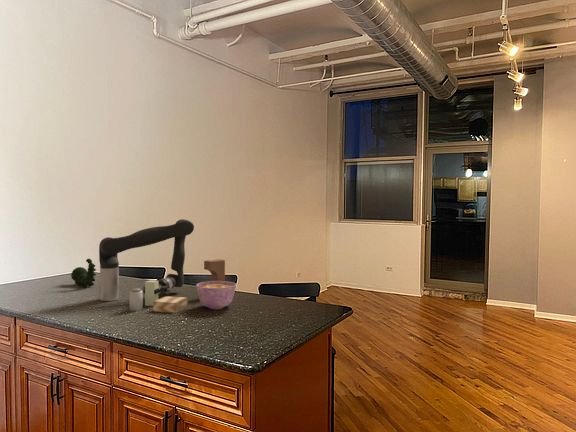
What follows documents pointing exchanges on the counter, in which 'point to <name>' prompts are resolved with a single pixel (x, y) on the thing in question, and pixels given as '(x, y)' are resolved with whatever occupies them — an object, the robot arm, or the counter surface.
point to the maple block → (170, 304)
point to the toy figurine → (84, 275)
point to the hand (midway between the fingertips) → (149, 291)
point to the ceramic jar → (136, 299)
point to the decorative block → (216, 269)
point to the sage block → (151, 292)
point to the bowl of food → (216, 293)
